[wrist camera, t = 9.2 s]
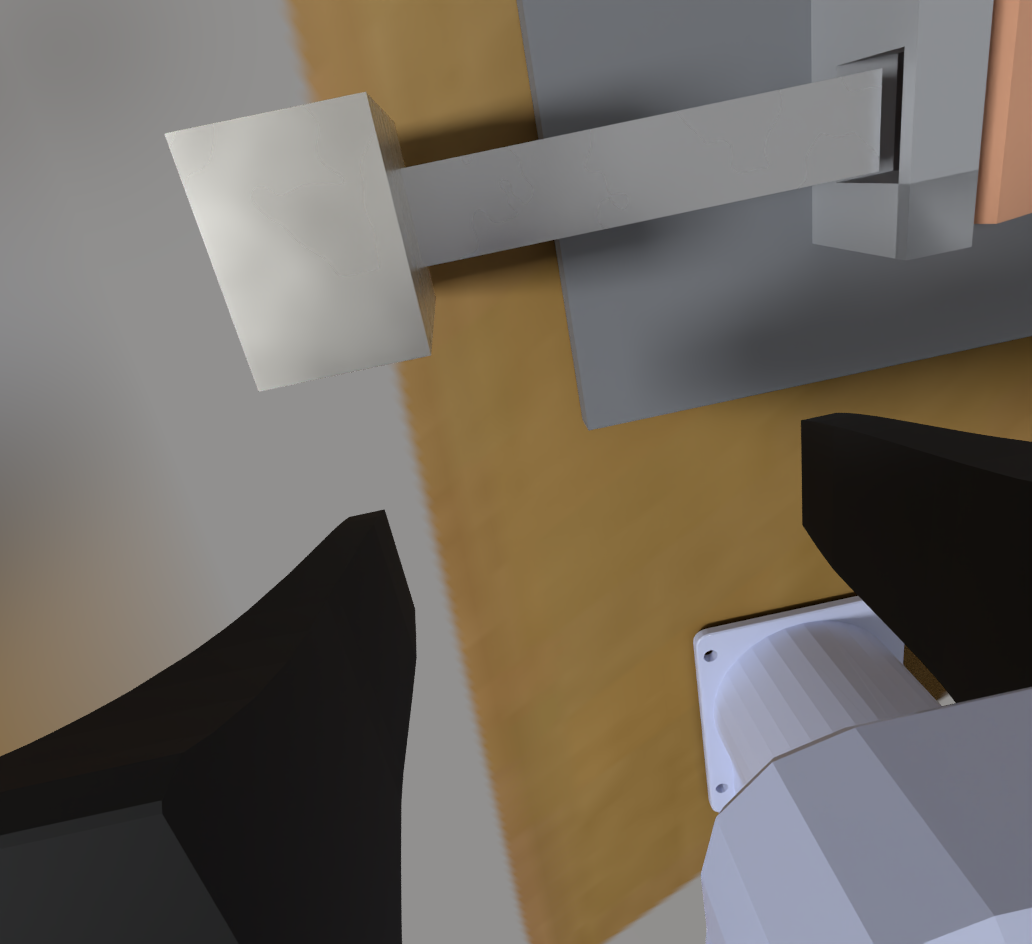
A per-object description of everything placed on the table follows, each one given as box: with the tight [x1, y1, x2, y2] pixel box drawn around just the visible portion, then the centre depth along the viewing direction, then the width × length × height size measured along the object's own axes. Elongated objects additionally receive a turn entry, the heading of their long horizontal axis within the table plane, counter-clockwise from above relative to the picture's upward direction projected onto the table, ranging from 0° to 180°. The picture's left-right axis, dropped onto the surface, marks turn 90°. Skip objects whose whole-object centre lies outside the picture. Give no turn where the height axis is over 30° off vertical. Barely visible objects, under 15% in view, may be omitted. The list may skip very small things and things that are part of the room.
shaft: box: [165, 68, 882, 392], centre depth 13 cm, size 4×13×6 cm, turn 101°
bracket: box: [517, 0, 1032, 430], centre depth 16 cm, size 14×16×5 cm
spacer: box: [974, 0, 1032, 224], centre depth 16 cm, size 5×4×3 cm
